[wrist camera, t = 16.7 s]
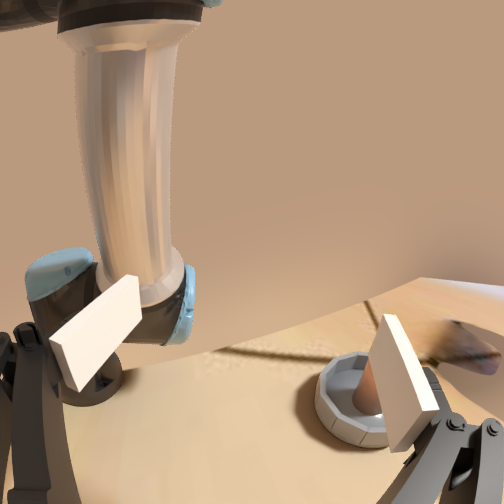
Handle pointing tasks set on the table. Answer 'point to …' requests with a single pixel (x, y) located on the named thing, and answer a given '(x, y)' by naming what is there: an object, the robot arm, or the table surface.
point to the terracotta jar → (367, 393)
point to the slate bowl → (347, 403)
